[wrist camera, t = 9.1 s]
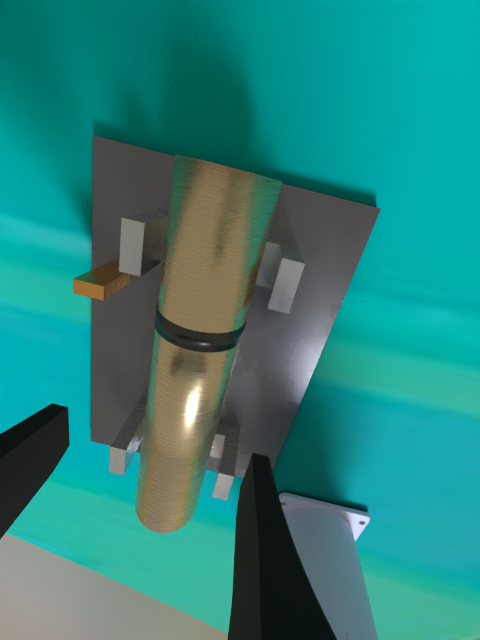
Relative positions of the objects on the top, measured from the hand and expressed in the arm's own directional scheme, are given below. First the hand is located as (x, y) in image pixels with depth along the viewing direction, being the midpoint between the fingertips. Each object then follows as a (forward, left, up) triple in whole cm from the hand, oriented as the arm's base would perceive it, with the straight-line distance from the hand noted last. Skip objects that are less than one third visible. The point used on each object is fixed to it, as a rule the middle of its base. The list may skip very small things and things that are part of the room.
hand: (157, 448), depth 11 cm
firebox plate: (-1, 0, -9) cm, 9 cm away
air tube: (-1, 0, -8) cm, 8 cm away
